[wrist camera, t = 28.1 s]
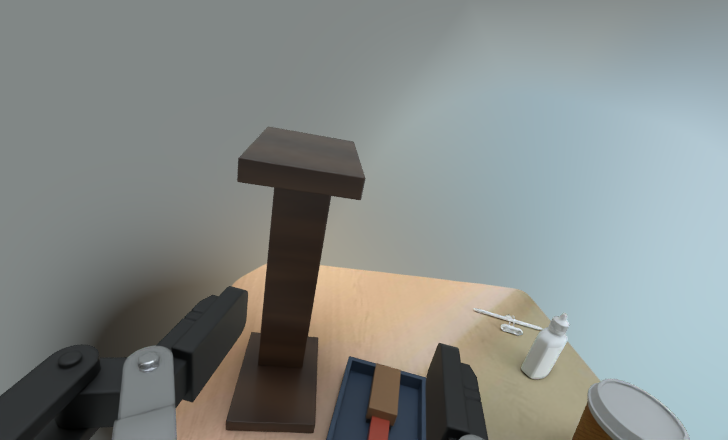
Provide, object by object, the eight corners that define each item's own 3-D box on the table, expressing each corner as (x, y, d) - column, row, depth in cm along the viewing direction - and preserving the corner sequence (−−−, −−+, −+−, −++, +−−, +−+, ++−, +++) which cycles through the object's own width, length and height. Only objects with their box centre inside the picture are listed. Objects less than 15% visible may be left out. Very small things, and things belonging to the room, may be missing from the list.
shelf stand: (313, 433, 40) (365, 178, 28) (225, 430, 39) (238, 157, 26) (316, 344, 53) (354, 141, 40) (250, 339, 51) (267, 126, 39)
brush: (382, 530, 32) (389, 512, 31) (347, 519, 33) (352, 501, 32) (396, 385, 48) (401, 369, 47) (371, 378, 48) (376, 363, 47)
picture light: (542, 329, 68) (546, 321, 67) (548, 344, 64) (552, 336, 63) (472, 309, 70) (475, 301, 69) (473, 322, 66) (477, 314, 65)
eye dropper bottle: (557, 383, 55) (590, 326, 51) (524, 378, 55) (555, 320, 50) (544, 362, 59) (574, 307, 55) (513, 357, 59) (541, 302, 54)
